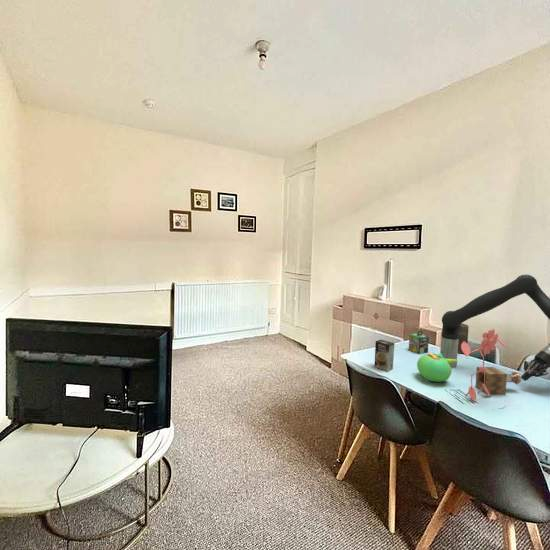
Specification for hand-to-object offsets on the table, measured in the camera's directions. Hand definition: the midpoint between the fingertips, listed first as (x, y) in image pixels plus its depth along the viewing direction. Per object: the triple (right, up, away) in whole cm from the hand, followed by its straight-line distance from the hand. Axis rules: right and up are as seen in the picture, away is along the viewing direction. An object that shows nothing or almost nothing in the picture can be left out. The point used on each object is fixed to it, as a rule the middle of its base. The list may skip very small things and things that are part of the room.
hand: (523, 379), depth 161 cm
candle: (+1, 0, +56) cm, 56 cm away
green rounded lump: (-39, -5, +12) cm, 41 cm away
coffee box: (-62, -3, +28) cm, 68 cm away
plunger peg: (-10, -2, 0) cm, 10 cm away
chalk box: (-27, 0, +58) cm, 64 cm away
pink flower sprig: (-27, -7, -11) cm, 30 cm away
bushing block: (-17, -6, 0) cm, 18 cm away
